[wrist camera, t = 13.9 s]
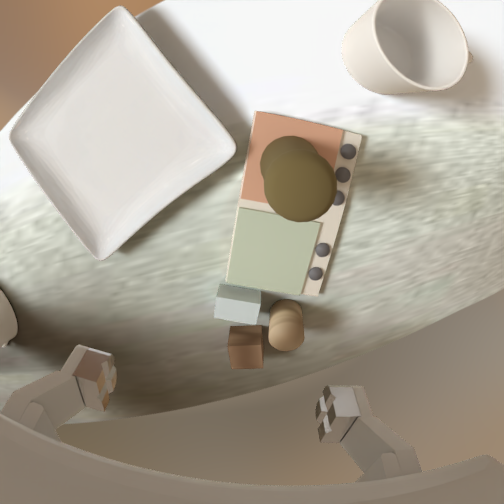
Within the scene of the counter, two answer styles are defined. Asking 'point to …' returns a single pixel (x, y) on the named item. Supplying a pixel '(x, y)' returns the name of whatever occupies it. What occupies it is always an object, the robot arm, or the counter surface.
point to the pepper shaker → (297, 179)
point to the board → (278, 228)
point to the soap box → (237, 304)
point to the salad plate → (117, 135)
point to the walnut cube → (246, 347)
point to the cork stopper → (286, 325)
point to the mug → (406, 48)
